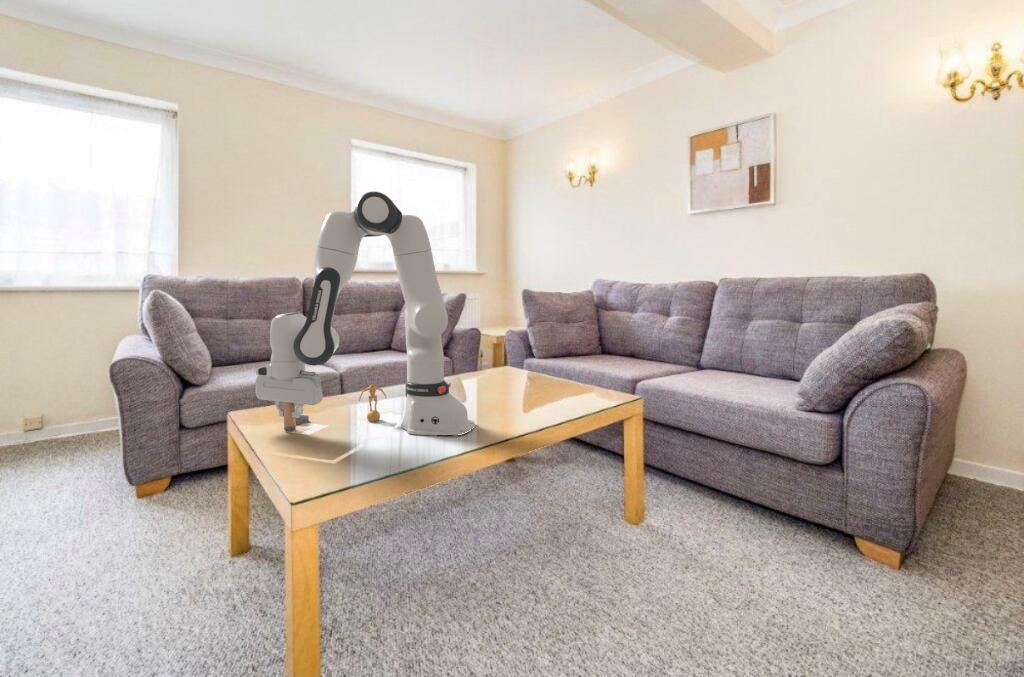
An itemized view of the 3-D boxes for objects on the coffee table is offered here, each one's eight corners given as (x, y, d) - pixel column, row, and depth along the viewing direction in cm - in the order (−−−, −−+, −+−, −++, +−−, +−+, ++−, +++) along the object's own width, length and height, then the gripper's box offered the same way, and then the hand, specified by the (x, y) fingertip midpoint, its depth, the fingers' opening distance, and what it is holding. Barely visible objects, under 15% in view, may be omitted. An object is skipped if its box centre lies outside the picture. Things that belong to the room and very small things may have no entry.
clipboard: (335, 426, 141) (335, 418, 141) (308, 438, 129) (308, 430, 129) (296, 421, 145) (296, 414, 144) (267, 433, 133) (266, 425, 133)
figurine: (360, 425, 142) (359, 387, 141) (358, 420, 148) (358, 383, 146) (388, 423, 145) (387, 385, 144) (385, 418, 151) (385, 381, 149)
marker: (298, 428, 135) (297, 397, 134) (290, 431, 132) (289, 400, 131) (289, 427, 135) (288, 396, 134) (281, 430, 133) (280, 399, 132)
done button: (305, 417, 143) (305, 408, 143) (298, 419, 140) (297, 411, 139) (296, 416, 144) (296, 407, 143) (289, 418, 141) (289, 410, 140)
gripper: (327, 370, 132) (327, 417, 134) (267, 365, 137) (269, 410, 139) (311, 374, 126) (313, 423, 127) (250, 368, 131) (252, 416, 133)
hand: (289, 416), depth 133 cm, fingers closed on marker, 3 cm apart
